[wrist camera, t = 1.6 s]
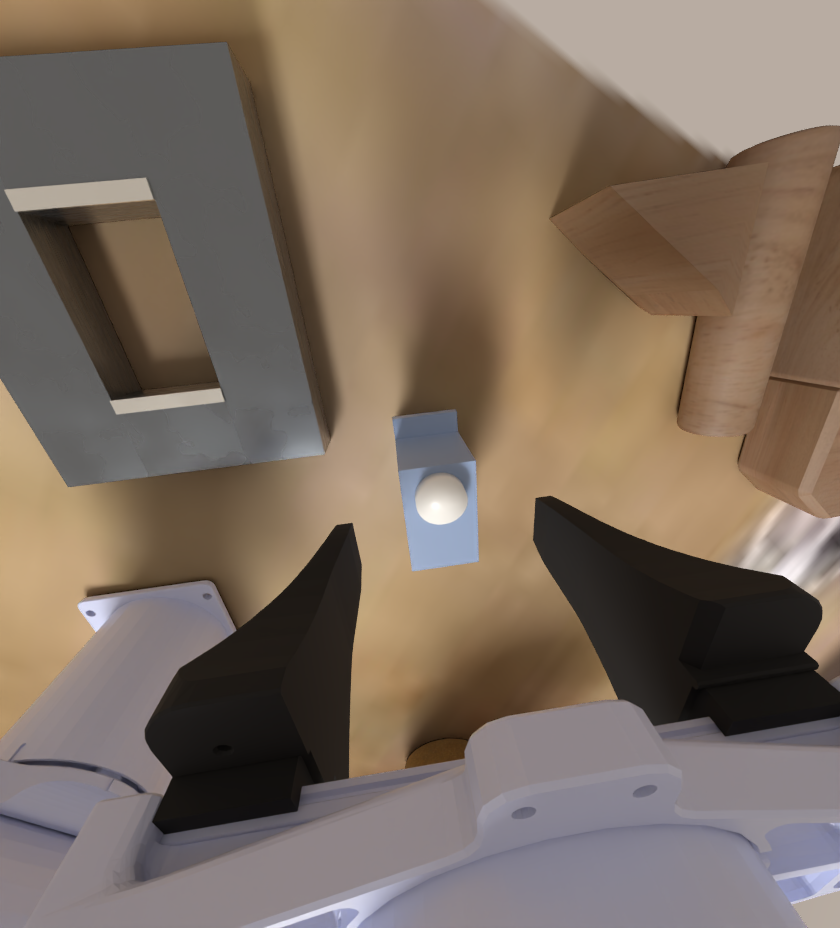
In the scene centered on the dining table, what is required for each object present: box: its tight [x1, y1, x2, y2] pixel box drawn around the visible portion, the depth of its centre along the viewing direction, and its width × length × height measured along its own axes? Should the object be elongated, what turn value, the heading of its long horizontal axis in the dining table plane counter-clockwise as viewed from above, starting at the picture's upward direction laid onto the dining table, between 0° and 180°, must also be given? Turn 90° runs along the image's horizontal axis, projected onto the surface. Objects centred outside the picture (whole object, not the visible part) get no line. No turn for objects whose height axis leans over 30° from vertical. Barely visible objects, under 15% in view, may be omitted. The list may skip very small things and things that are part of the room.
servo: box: [392, 409, 479, 571], centre depth 16 cm, size 7×3×7 cm, turn 5°
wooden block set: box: [550, 126, 840, 519], centre depth 16 cm, size 17×6×18 cm
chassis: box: [0, 42, 331, 487], centre depth 14 cm, size 14×12×2 cm
